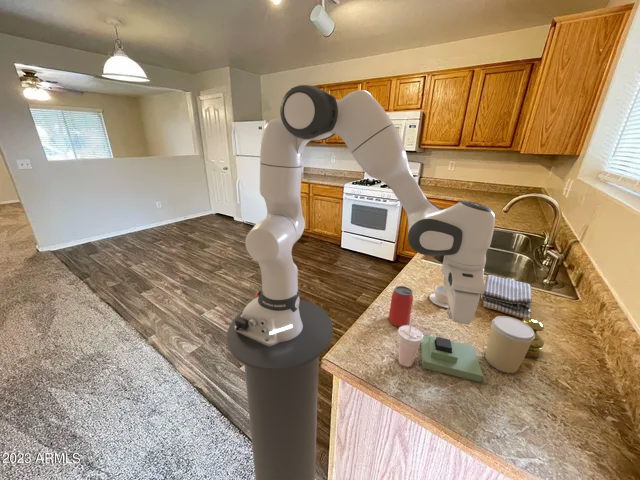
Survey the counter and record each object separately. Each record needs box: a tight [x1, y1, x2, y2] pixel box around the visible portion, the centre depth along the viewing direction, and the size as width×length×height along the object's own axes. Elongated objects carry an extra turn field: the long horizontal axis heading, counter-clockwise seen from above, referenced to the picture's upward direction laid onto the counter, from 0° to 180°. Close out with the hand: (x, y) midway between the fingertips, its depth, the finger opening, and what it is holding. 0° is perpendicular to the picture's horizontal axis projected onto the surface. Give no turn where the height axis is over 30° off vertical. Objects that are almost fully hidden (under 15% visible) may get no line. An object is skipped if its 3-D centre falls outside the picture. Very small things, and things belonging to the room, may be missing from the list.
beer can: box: [388, 285, 414, 328], centre depth 86 cm, size 7×7×12 cm
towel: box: [480, 274, 533, 320], centre depth 99 cm, size 15×18×8 cm
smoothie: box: [397, 316, 424, 368], centre depth 70 cm, size 6×6×14 cm
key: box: [435, 336, 452, 353], centre depth 72 cm, size 4×4×2 cm
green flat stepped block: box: [420, 334, 484, 383], centre depth 73 cm, size 14×11×4 cm
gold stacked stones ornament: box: [521, 318, 545, 358], centre depth 76 cm, size 7×7×10 cm
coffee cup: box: [484, 315, 535, 374], centre depth 71 cm, size 9×9×12 cm
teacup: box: [429, 285, 448, 309], centre depth 100 cm, size 10×10×5 cm
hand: (451, 316), depth 69 cm, fingers closed
